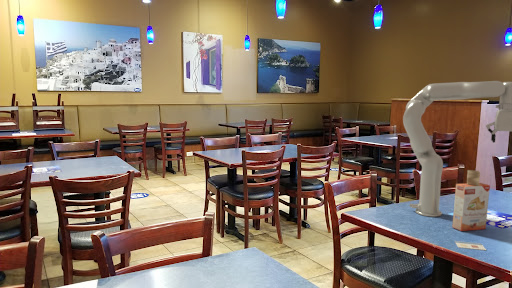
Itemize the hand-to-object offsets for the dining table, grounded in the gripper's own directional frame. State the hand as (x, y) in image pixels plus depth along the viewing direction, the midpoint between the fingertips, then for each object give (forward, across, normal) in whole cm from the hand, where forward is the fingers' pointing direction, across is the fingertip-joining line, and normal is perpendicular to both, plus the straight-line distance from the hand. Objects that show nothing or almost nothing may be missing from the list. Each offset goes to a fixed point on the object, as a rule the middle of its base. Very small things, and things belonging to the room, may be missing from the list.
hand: (505, 142), depth 188 cm
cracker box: (+38, -15, -23) cm, 47 cm away
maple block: (+17, -15, -23) cm, 33 cm away
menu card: (+38, -17, -47) cm, 63 cm away
